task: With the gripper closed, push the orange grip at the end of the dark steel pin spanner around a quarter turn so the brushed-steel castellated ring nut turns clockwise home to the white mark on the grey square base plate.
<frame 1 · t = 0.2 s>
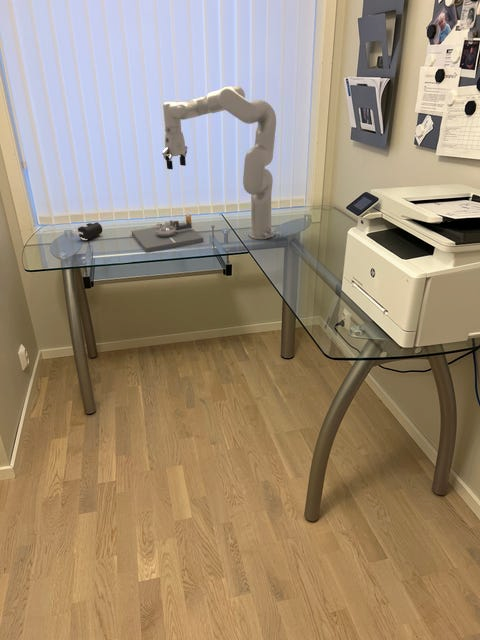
hand: (176, 167, 231), 30 cm above the table, tool pointing down, fingers open, 9 cm apart
grey square base plate: (166, 238, 230), on the table
end cap: (91, 238, 235), on the table
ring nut: (173, 225, 229), point 6 cm above the table, hinge at 0.0°
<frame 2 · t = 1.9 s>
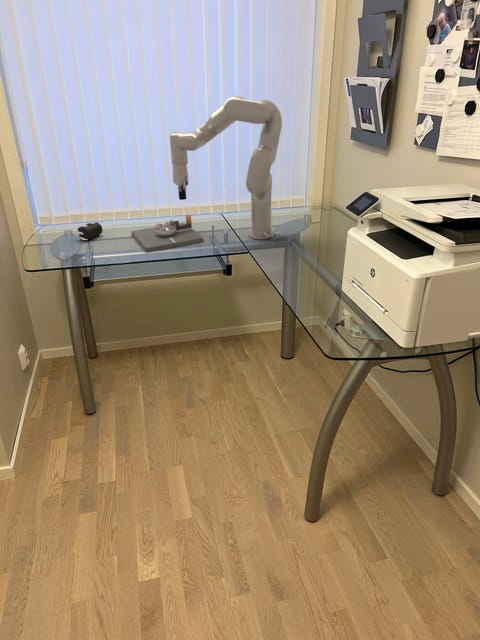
hand: (182, 199, 230), 16 cm above the table, tool pointing down, fingers closed
nothing on the table moved.
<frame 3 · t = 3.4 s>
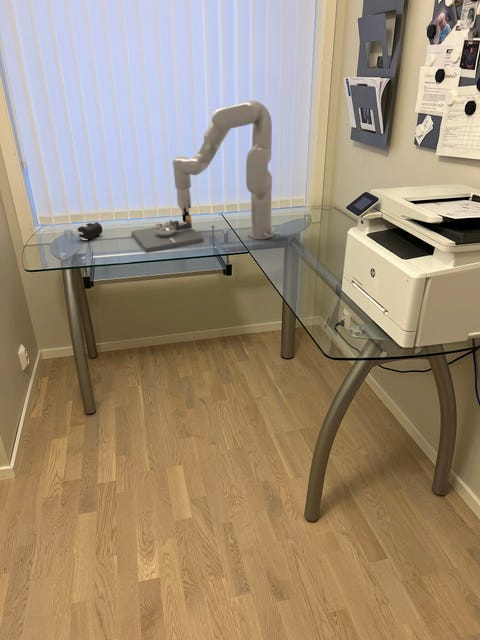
hand: (186, 221, 235), 6 cm above the table, tool pointing down, fingers closed
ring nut: (173, 225, 229), point 6 cm above the table, hinge at 0.3°, touching gripper
everything else where it was.
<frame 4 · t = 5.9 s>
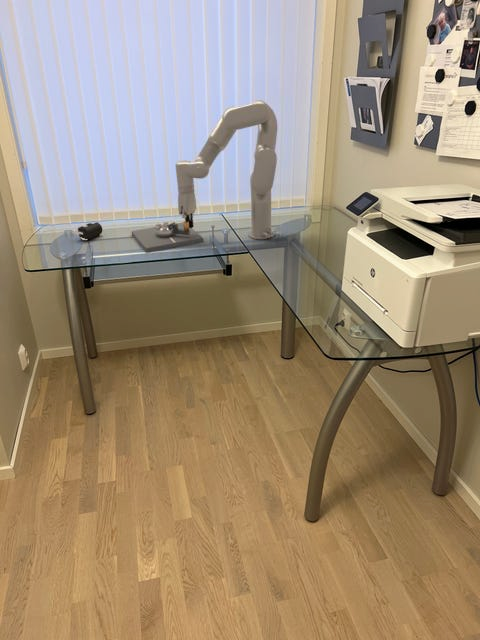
hand: (189, 227, 226), 6 cm above the table, tool pointing down, fingers closed
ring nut: (172, 227, 226), point 6 cm above the table, hinge at 50.6°, touching gripper
everything else where it was.
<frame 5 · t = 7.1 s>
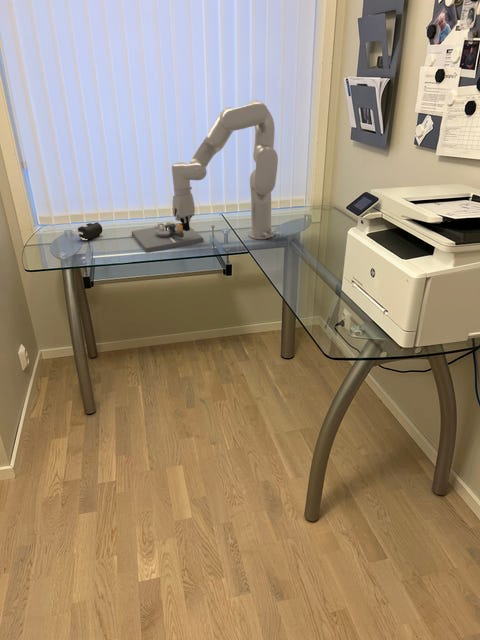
hand: (186, 230, 222), 6 cm above the table, tool pointing down, fingers closed
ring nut: (170, 228, 225), point 6 cm above the table, hinge at 71.5°, touching gripper
everything else where it was.
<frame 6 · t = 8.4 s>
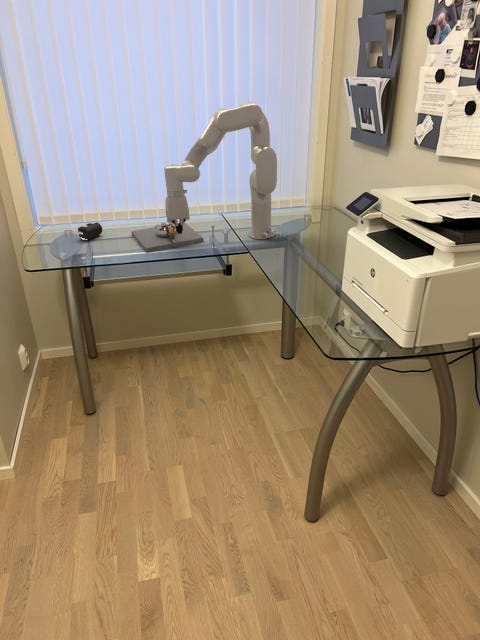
hand: (179, 233, 219), 6 cm above the table, tool pointing down, fingers closed
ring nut: (167, 229, 224), point 6 cm above the table, hinge at 92.8°, touching gripper
everything else where it was.
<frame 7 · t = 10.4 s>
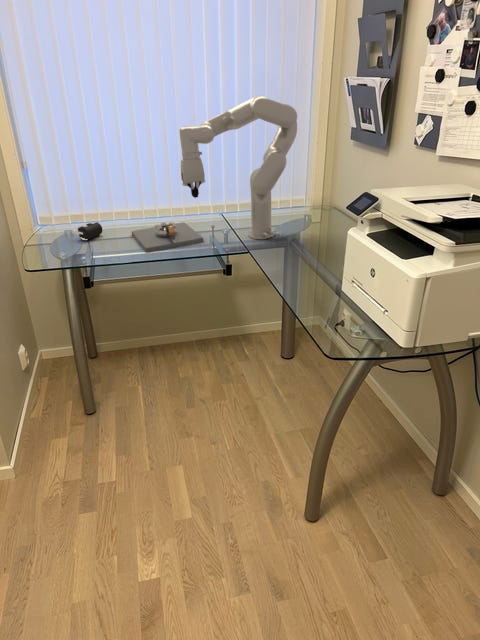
hand: (195, 196, 218), 20 cm above the table, tool pointing down, fingers closed
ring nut: (167, 229, 224), point 6 cm above the table, hinge at 92.7°
everything else where it was.
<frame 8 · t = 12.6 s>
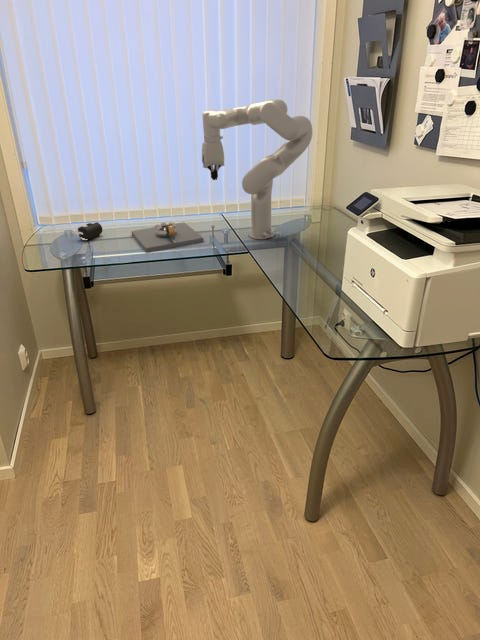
hand: (214, 179, 227), 25 cm above the table, tool pointing down, fingers closed
nothing on the table moved.
at the end: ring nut at +93° (first picture: +0°); end cap moved 0.3 cm from its start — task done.
